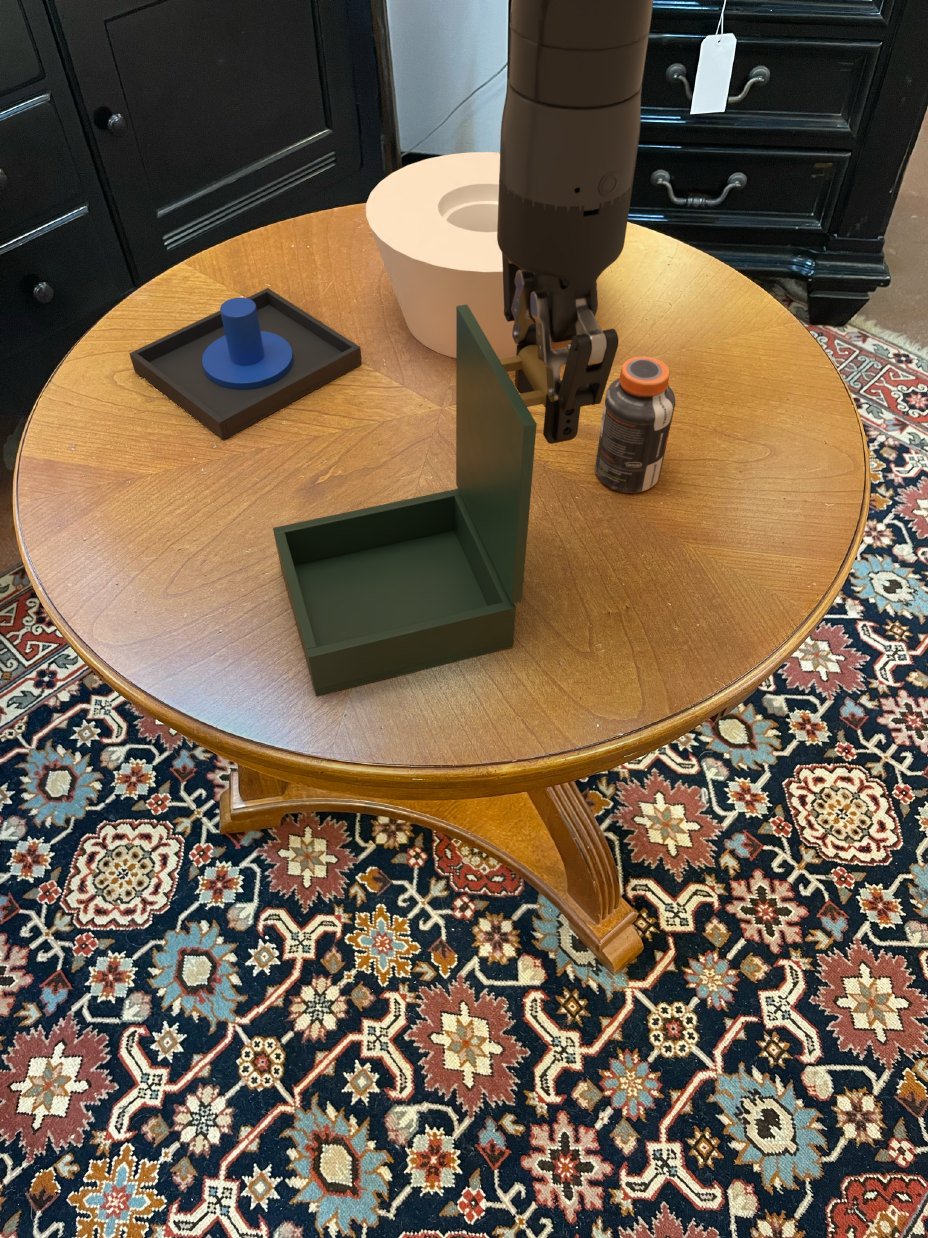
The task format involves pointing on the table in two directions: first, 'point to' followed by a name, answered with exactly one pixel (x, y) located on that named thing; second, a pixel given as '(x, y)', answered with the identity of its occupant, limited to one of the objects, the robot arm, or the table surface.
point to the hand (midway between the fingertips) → (544, 412)
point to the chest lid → (496, 445)
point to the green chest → (392, 590)
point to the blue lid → (246, 350)
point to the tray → (232, 410)
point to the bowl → (444, 247)
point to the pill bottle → (635, 426)
